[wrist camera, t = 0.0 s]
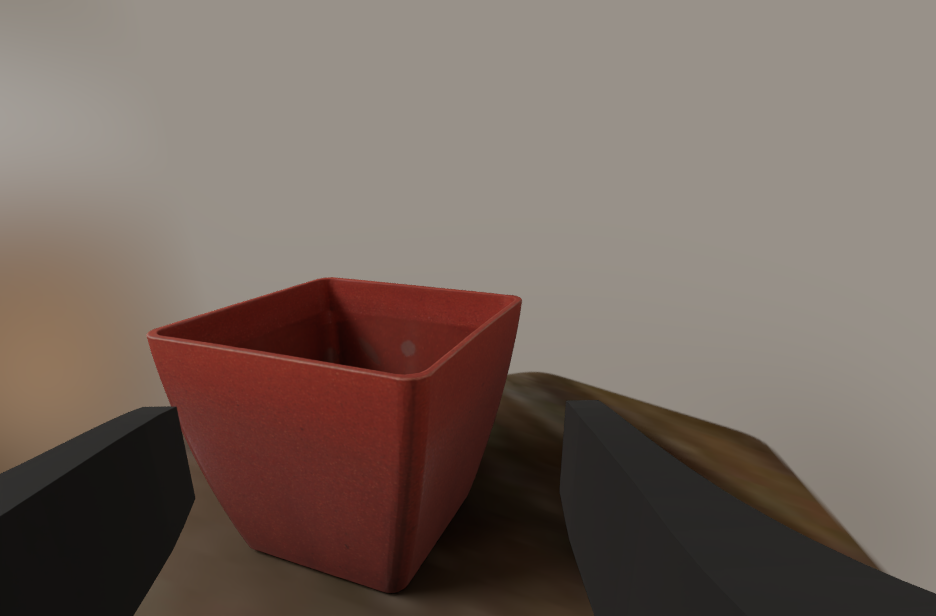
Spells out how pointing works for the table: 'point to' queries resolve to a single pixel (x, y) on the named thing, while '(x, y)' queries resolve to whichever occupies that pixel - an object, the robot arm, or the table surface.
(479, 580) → the table surface
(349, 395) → the plant pot
